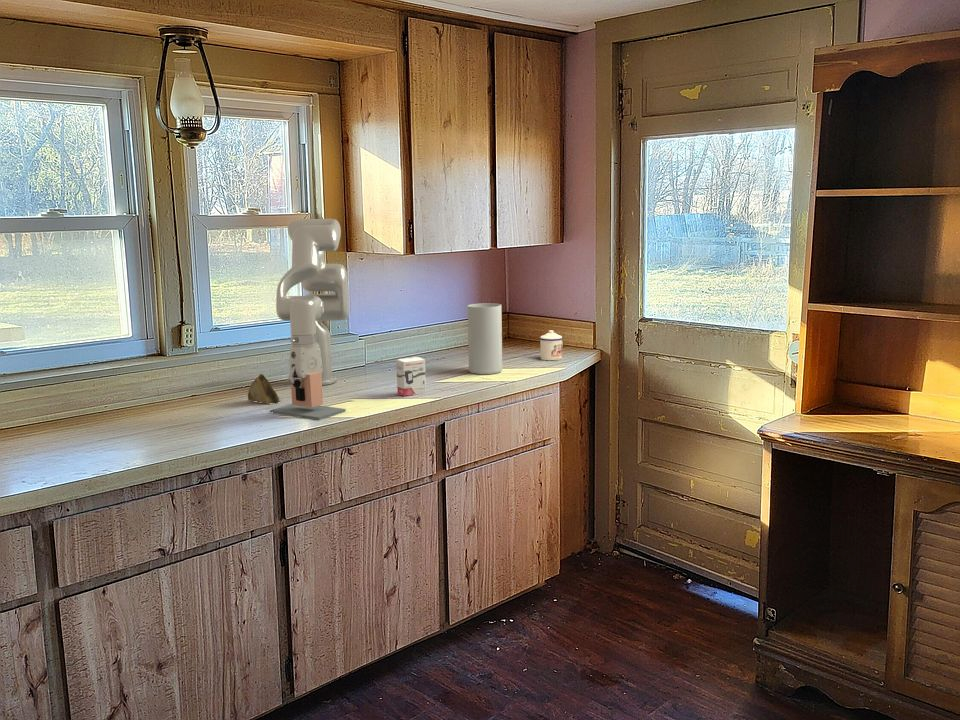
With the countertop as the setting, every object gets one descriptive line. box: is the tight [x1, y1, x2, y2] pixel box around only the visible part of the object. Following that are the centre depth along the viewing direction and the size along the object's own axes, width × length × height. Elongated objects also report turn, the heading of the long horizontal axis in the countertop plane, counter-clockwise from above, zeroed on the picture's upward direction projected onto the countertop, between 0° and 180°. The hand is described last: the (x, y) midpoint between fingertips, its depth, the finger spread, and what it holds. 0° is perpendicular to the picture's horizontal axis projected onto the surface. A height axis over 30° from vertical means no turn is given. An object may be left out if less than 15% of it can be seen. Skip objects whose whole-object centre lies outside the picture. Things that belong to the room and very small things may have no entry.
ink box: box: [395, 356, 427, 397], centre depth 287 cm, size 8×5×12 cm, turn 123°
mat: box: [269, 403, 347, 421], centre depth 265 cm, size 20×12×1 cm, turn 58°
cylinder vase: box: [467, 302, 503, 375], centre depth 322 cm, size 12×12×25 cm
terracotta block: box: [290, 372, 324, 407], centre depth 264 cm, size 5×8×10 cm, turn 58°
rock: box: [247, 373, 281, 405], centre depth 280 cm, size 11×9×10 cm
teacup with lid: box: [539, 329, 564, 361], centre depth 348 cm, size 12×9×12 cm
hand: (307, 398), depth 264 cm, fingers closed on terracotta block, 5 cm apart
